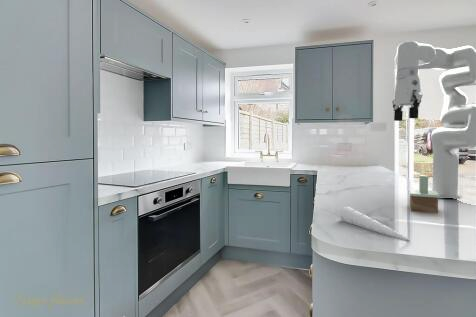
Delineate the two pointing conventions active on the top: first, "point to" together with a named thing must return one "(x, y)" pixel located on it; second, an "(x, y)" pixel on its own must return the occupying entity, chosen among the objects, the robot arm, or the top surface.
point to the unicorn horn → (367, 222)
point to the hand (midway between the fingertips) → (405, 119)
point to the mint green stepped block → (423, 188)
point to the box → (424, 204)
